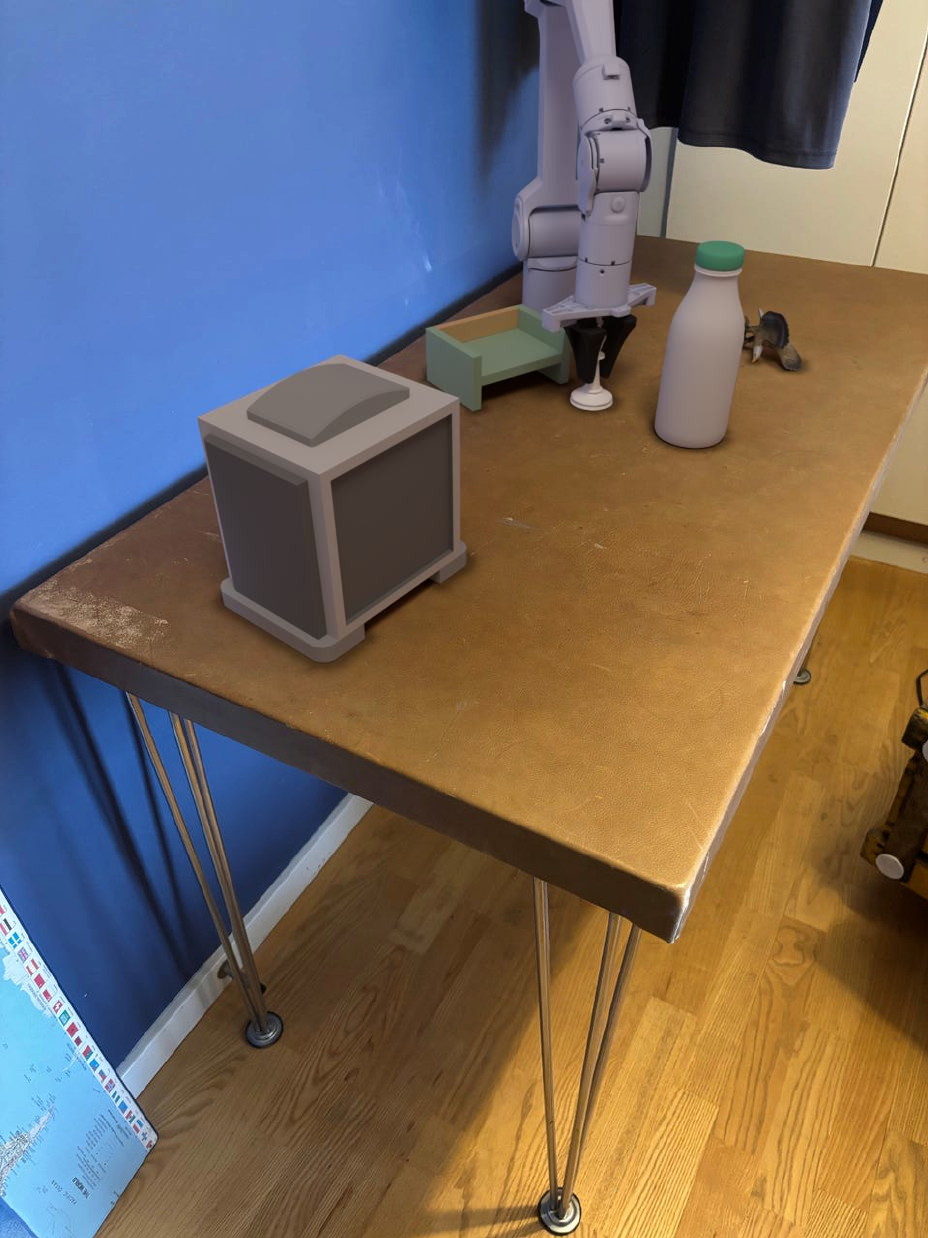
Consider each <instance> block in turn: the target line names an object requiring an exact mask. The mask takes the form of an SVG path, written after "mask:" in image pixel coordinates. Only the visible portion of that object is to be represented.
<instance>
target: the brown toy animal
mask: <svg viewBox="0 0 928 1238" xmlns="http://www.w3.org/2000/svg"><path fill="white" fill-rule="evenodd" d="M757 311H758V316H759V324H757V325H751V326H750V324H751V321H750V319H749V317H748V316H747V315H744V324H745V331H744V341H743V348H745V346H746V345H747V344H750V343H753V344H752V345H753V354H752V360H751V363H752V364H753V363H755V362H756V361H757V360H758V359H760V357H761V355H762V353H763V352H762V351H763V349H764V348H770V349H772V350H773V351H774V352H775V353H776V355H777V356H778V357H779V359H780V361H781V363H782V365H783V367H784V369H786V370H790V371H794V372H798V371H800V370H802V367H803V365H802V364H803V362H802V358H801V356H800V354H799V353H798V351H797V349H796V348H795V347H794V346H793V345H792V344H791V343H790V336H791V333H790V329H789V324H788V321H787V319H786V317H785V316H784V314H782V312H777V311H772V310H768V311H766V312H765V313H764V312H763V310H762V309H761V308H760V307H758V308H757ZM747 334H751V335H750V336H749V337H747ZM743 348H742V349H743Z"/></svg>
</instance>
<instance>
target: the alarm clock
mask: <svg viewBox="0 0 928 1238" xmlns="http://www.w3.org/2000/svg"><path fill="white" fill-rule="evenodd" d="M460 404H461V403H460V398H458V397H455V396H453V395H450V394H447V393H445V392H444V391H442V390H440V389H436V388H433V387H431V386H428V385H425V384H423V383H420V382H417V381H415V380H412V379H409V378H406V377H404V376H401V375H398V374H396V373H393V372H390V371H388V370H384V369H383V368H379V367H376V366H374V365H371V364H368V363H365V362H364V361H360V360H357V359H355V358H352V357H350V356H348V355H347V356H346V355H344V354H341V353H338V354H336V355H333V356H331V357H329V358H327V359H325V360H322V361H320V362H318V363H316V364H313V365H311V366H309V367H307V368H304V369H302V370H300V371H297V372H295V373H293V374H291V375H288V376H286V377H284V378H282V379H280V380H277V381H275V382H273V383H270V384H269V385H266V386H264V387H262V388H260V389H257V390H255V391H252V392H251V393H248V394H246V395H244V396H241V397H239V398H237V399H235V400H232V401H230V402H228V403H226V404H224V405H221V406H219V407H217V408H214V409H213V410H210V411H207V412H206V413H204V414H202V415H199V416H197V417H196V420H197V424H198V430H199V435H200V439H201V443H202V449H203V454H204V460H205V464H206V468H207V472H208V473H207V474H208V477H209V482H210V488H211V493H212V498H213V502H214V507H215V511H216V515H217V522H218V527H219V532H220V536H221V541H222V546H223V550H224V555H225V561H226V565H227V569H228V575H229V576H228V577H226V578H225V579H224V580H222V582H221V583H220V585H219V586H220V591H221V595H222V600H223V605H224V607H226V608H227V609H228V610H230V611H232V612H233V613H235V614H236V615H238V616H240V617H241V618H243V619H245V620H247V621H248V622H249V623H251V624H253V625H254V626H257V627H258V628H260V629H261V630H263V631H264V632H265V633H268V634H269V635H271V636H272V637H274V638H276V639H278V640H279V641H281V642H282V643H284V644H286V645H287V646H289V647H290V648H292V649H294V650H295V651H296V652H298V653H300V654H302V655H303V656H305V657H306V658H309V659H310V660H311V661H313V662H315V663H322V664H324V663H330V662H334V661H336V660H338V659H339V658H340V657H341V656H343V655H344V654H346V653H348V651H350V650H351V649H353V648H354V647H355V646H357V645H359V644H360V643H361V642H362V641H363V640H365V639H366V632H365V623H367V622H368V621H370V620H371V619H372V618H373V617H375V616H376V615H378V614H379V613H381V612H382V611H384V610H385V609H387V608H388V607H389V606H390V605H392V604H393V603H395V602H396V601H398V600H399V599H400V598H402V597H403V596H405V595H406V594H407V593H409V592H410V591H412V590H413V589H414V588H416V587H417V586H419V585H420V584H421V583H423V582H424V581H426V580H427V579H429V580H432V581H433V582H435V583H437V584H439V585H441V584H443V583H444V582H446V581H447V580H448V579H450V578H451V577H452V576H454V575H456V573H459V571H460V570H462V569H463V568H465V567H466V566H467V562H468V556H467V554H468V552H467V551H468V549H467V548H468V546H467V544H466V543H465V541H463V540H462V539H461V427H460V425H461V422H460V421H461V420H460V419H461V417H460V416H461V414H460V413H461V411H460V410H461V409H460Z"/></svg>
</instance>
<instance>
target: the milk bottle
mask: <svg viewBox="0 0 928 1238" xmlns="http://www.w3.org/2000/svg"><path fill="white" fill-rule="evenodd" d="M745 256H746V249H745V248H744V246H742V245H741V244H738V243H736V242H732V241H728V240H708V241H703V242H701V243H699V244H698V245H697V247H696V251H695V256H694V261H695V262H694V265H693V269H694V271H695V272H694V277H693V280H692V283H691V285H690V286H689V288H688V290H687V292H686V294H685V295H684V297H683V299H682V301H681V302H680V304H679V305H678V307H677V309H676V310H675V313H674V315H673V316H672V320H671V323H670V326H669V328H668V329H669V330H668V335H667V340H666V346H665V351H664V357H663V358H664V359H663V365H662V370H661V377H660V382H659V383H660V385H659V389H658V390H659V391H658V397H657V404H656V406H657V407H656V412H655V417H654V419H655V420H654V429H655V432H656V434H657V436H658V437H659V438H660V439H662V440H663V441H664V442H666V443H669V444H670V445H673V446H677V447H681V448H688V449H704V448H709V447H713V446H715V445H717V444H719V443H720V442H721V441H722V440H723V439H724V437H725V436H726V432H727V428H728V424H729V419H730V415H731V409H732V404H733V399H734V396H735V395H734V394H735V391H736V390H735V388H736V385H737V380H738V373H739V371H740V370H739V369H740V364H741V359H742V354H743V341H744V331H745V315H744V311H743V308H742V303H741V299H740V295H739V283H738V281H739V275H740V274H741V273H742V271H743V265H744V261H745Z"/></svg>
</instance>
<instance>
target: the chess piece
mask: <svg viewBox="0 0 928 1238" xmlns="http://www.w3.org/2000/svg"><path fill="white" fill-rule="evenodd" d="M596 322H598V327H600V328H601V326H602V325H603V320H602V317H597V320H596ZM605 339H606V336H605V338H604V340H603V343H604V341H605ZM603 343H602V345H601V348H602V346H603ZM601 348H600V350H601ZM604 358H605V354H604V353H603V352H602V351H600V352H599V355H598V361H597V368H596V375H595V379H594V382H593V383H591V384H587V383H585V384H584V385H582V386H581V387H577V388H576V389H574V390H572V392H571V394H570V398H569V401H570V403H571V405H572V406H574V407H575V408H577V409H579V410H583V411H589V412H590V411H592V412H594V411H597V412H598V411H603V410H606V409H608V408H610V407H611V406H612V405H613V395H612V393H611V392H610V391H609V390H608V389H606V388H603V386H602V385H601V381H600V380H601V377H600V376H599V360H601V359H604Z"/></svg>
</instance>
